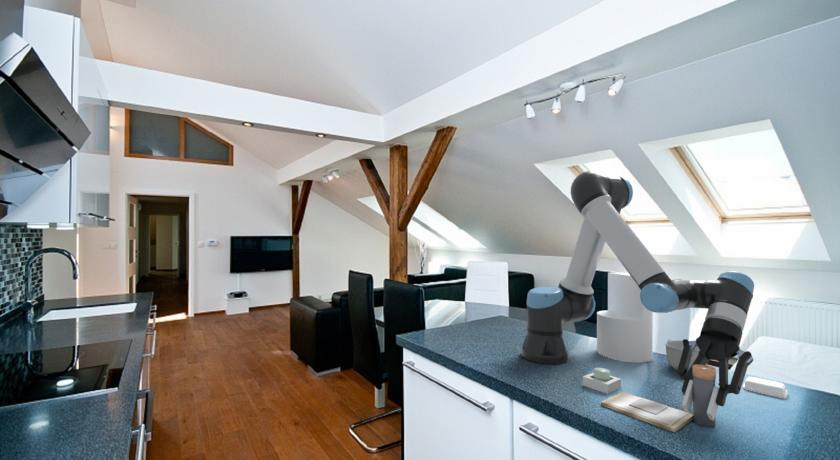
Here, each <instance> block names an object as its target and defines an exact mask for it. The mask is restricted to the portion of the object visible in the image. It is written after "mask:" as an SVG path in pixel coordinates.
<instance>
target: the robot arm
mask: <svg viewBox="0 0 840 460" xmlns="http://www.w3.org/2000/svg"><path fill="white" fill-rule="evenodd" d="M570 196H571V199H572V200H571V201H572V202H573V204H574V206H575V208H576V209H577V211H578V212H579V213H580V215H581V217H583V220H582V224H581V226H580V230H579V234H578V237H577V241H576V242H575V246H574V250H573V252H572V253H573V254H572V256H571V260H570V263H569V266H568V269H567V273H566V276H565V278H562V279H561V280H560V281H559V283H558V285H557V286H558V287H557V286H538V287H534V288H532V289H530V290H528V292H527V296H526V335H525V338H524V341H523V343H522V347H521V356H522V358H523V359H525V360H528V361H530V362H535V363H539V364H547V365H553V364H554V365H559V364H564V363H566V362H568V361H569V351H568V349H567V346H566V343H565V339H564V335H563V333H564V332H563V329H564V327H563V326H564V325H565V324H570V323H579V322H582V321H584V320H587V319H589V318H590V317H592V315H593V313H594V312H595V310H596V309H595V308H596V300H595V297H594V292H595V291H594V289H593V287H592V283H593V280H594V277H595V274H596V271H597V267H598V265H599V262H600V259H601V256H602V252H603V250H604V247H605V244H607V246H608V247H609V248H610V250H611V251H612V253H613V254H614V255H615V257H616V258H617V259H618V260H619V262H620V263H621V265H622V266H623V268H624V269H625V270H626V273H629V274H630V276H631V277H632V278H633V280H634V281H635V283H636V284H637V285H638V287H639V288H640V290H641V292H640V299H641V303H642V304H643V306H644V307H645V308H646V309H648V310H649V311H652V312H653V313H656V314H663V313H672V312H674V311H675V312H676V311H680V310H685V309H691V308H692V309H707V312H706V314H705V318H704V322H703V325H702V327H701V330H700V334H699V336H698V337H697V338H696V339H695V340H688V338H687V339H686V338H684V339H683V340H682V341H683V346H684V348H683V352H682V355H681V359H680V362H679V366H678V369H677V370H676V373H677V376H678V377H679V379H680V380H682V381H683V384H682V387H681V389H680V390H681V393H682V395H683V400H682V403H681V407H682V408H683V411H684V412H687V413H690V411H691V408H692V405H693V375H692V366H691V367H690V369H689V370H688V368H689V364H690V360H691V357H692V351H694V349H695V347H696V346H698V348H699V349H700V351H699V353H698V356H697V358H696V359H695V361H694V362H693V364H692V365H695V364H699V365H706V363H707V364H708V363H709V362H710V361H716V362H718V383H717V384H718V386H716V385H715V386H714V388H713V392H712V395H711V399H710V402H709V406H708V409H707V415H708V417H709V419H710V420H713V421H714V419H715V420H716V414H717V412H718V408H719V407H724V406H725V403H726V400H727V396H728V395H729V394H733V395H739V394H740V392H741V389H742V387H743V384H744V383H743V382H744V381H745V380H744V379H745V376H746V373H747V370H748V367H750V365H751V364H752V363H753V362H754V358H753V355H752V352H751V351H748V350H745V351H744V350H743V349H741V348H740V344H741V341H742V337H743V332H744V328H745V325H746V321H747V318H748V313H749V310H750V306H751V304H752V300H753V298H754V290H755V283H754V280H753V279H752V278H751V277H750V276H749V275H747V274H744V273H742V272H739V271H734V270H729V271H725V272H722V273H720V274H719V275H718V277H717V279H716V280H715V279H712V280H709V279H708V280H707V279H706V280H698V279H682V278H681V279H680V278H678V279H676V278H675V279H671V277H669V274H667V272H665V270H664V269H663V267H662V266H661V265H660V263H659V262H658V261H657V260H656V258H654V256H653V255H652V253H651V252H650V251H649V249H648V248H647V247H646V246H645V245H644V243H643V242H642V241H641V239H640V238H639V237H638V236H637V235H636V232H634V230H632V228H631V227H630V226H629V224H628V222H626V220H625V219H624V218H623V217H622V215H621V212H622V209H624V208H626V207H628V206H629V204H630V203H631V202H632V200H633V196H634V190H633V186H632V184H631V182H630V181H629V179H627V178H626V177H624V176H623V175H619V174H618V173H613V172H612V173H611V172H606V171H605V172H604V171H599V170H586V171H584V172H581V173H580V174H578V175H577V176H576V177H575V178H574V179H573V181H572V182H571V185H570ZM736 356H737V358H738V359H737V363H736V365H735V369H734V371H733V374H732V377H731V381H730V383H729V366H730V365H729V360H732V359H733V358H735V357H736Z"/></svg>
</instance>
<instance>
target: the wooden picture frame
mask: <svg viewBox="0 0 840 460" xmlns="http://www.w3.org/2000/svg"><path fill="white" fill-rule="evenodd" d="M600 406H602V407H605V408H608V409H610V410H613V411H616V412H618V413H621V414H623V415H626V416H629V417H631V418H634V419H637V420H639V421H642V422H646V423H647V424H650V425H653V426H656V427H659V428H661V429H664V430H667V431H669V432H673V433H676V432H678V430H680V429H682V428H683V427H685V426H686V425H687V424H689V423H690V422H692V421H693V413H690V412H686V411H685V410H681V409H678V408H675V407H671V406H668V405H666V404H663V403H659V402H656V401H653V400H651V399H647V398H644V397H642V396H638V395H634V394H632V393H629V392H626V391H621V392H619V393H617V394H614V395H612V396H610V397H608V398H606V399H604V400H602V401H600Z"/></svg>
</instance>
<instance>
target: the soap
mask: <svg viewBox="0 0 840 460" xmlns="http://www.w3.org/2000/svg"><path fill="white" fill-rule="evenodd" d="M742 389H743V390H744V389H745V391H748V390H749V392H752V391H753V393H756V392H757V394H760V393H761V395H764V394H765V396H770V397H774V398H775V397H776V398H779V399H785V400H786V399H788V396H789V392H788V390H787V389H786V386H785V384H784V383H782V382H779V381H776V380H775V381H774V380H769V379H765V378H760V377H755V376H748V377H746V378H745V380H744V383H742Z"/></svg>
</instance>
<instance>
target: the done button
mask: <svg viewBox="0 0 840 460" xmlns="http://www.w3.org/2000/svg"><path fill="white" fill-rule="evenodd" d="M593 372H594V378H595V379H598V380H601V381H604V382H607V381H609V380H610V376H611V370H609V369H607V368H603V367H595V368H593Z"/></svg>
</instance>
